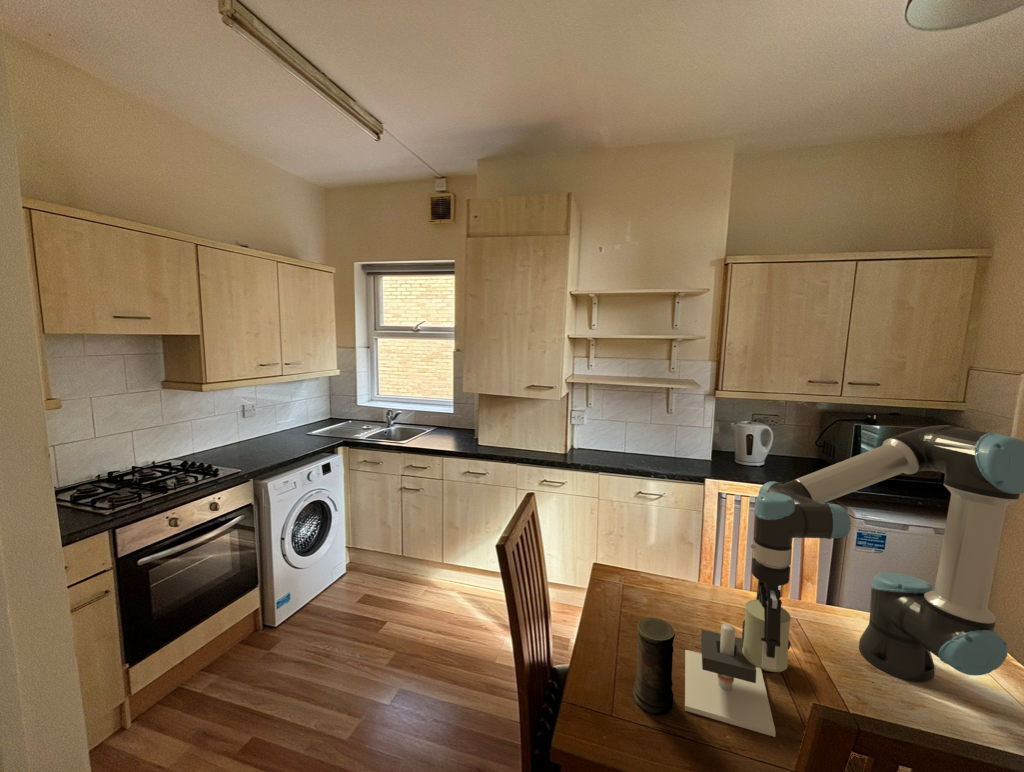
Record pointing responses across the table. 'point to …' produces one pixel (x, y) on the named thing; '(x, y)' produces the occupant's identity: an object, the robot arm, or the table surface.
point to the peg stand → (727, 692)
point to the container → (654, 666)
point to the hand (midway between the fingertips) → (764, 653)
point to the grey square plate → (725, 658)
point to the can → (756, 632)
